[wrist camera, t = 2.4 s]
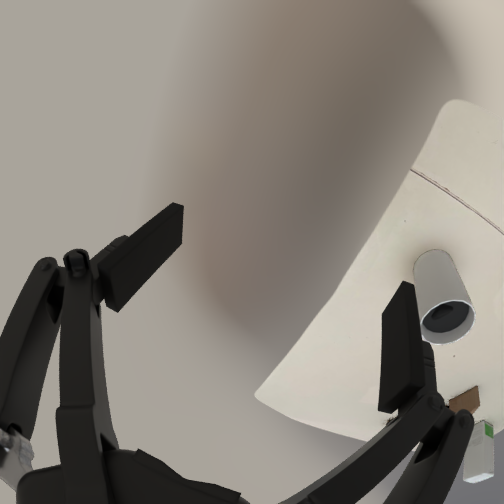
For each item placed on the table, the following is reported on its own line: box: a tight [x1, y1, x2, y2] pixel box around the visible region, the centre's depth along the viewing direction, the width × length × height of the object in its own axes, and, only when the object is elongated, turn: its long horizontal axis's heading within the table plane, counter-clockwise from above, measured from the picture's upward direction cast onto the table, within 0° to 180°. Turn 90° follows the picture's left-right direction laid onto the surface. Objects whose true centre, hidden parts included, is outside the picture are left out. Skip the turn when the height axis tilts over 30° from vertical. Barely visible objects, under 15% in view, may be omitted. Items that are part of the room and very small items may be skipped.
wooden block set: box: [386, 386, 480, 426], centre depth 44 cm, size 17×6×18 cm
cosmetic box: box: [463, 420, 494, 483], centre depth 41 cm, size 8×7×16 cm
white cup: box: [413, 250, 476, 345], centre depth 28 cm, size 7×7×10 cm
